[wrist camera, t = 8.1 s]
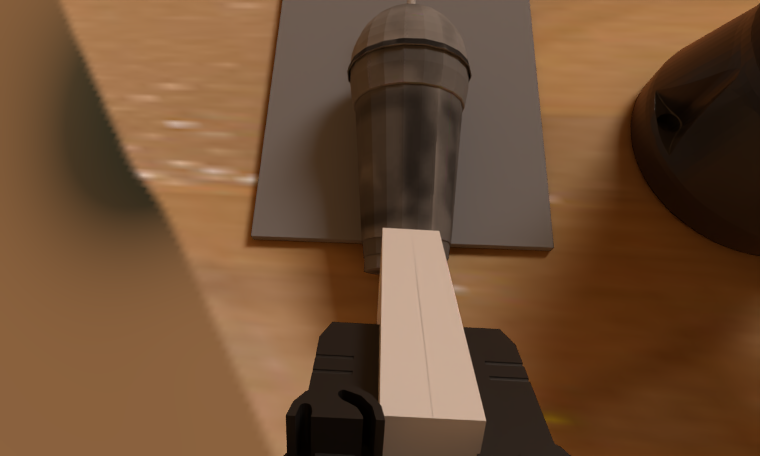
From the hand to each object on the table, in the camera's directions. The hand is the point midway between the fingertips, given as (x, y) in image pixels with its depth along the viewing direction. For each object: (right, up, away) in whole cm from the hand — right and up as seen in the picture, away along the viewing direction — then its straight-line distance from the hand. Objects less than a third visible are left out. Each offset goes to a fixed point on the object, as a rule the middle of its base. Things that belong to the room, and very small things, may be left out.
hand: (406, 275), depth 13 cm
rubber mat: (+1, +13, +21) cm, 25 cm away
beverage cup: (+1, -1, +13) cm, 13 cm away
